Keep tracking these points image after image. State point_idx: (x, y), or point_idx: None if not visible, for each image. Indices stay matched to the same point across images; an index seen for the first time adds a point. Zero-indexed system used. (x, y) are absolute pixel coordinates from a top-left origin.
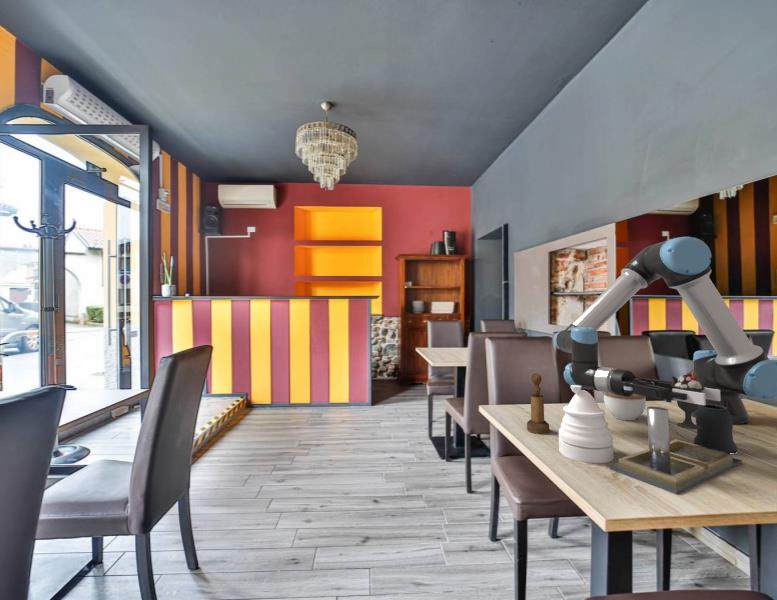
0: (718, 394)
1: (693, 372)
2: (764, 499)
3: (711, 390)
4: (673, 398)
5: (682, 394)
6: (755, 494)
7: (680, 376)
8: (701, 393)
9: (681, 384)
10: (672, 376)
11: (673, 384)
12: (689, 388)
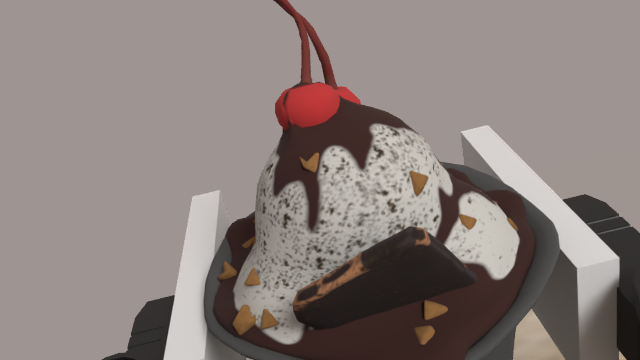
0: (230, 224)
1: (321, 43)
2: (536, 321)
3: (222, 226)
4: (614, 350)
5: (600, 207)
6: (531, 346)
7: (391, 155)
8: (492, 130)
9: (484, 197)
10: (422, 228)
11: (469, 310)
12: (473, 179)
